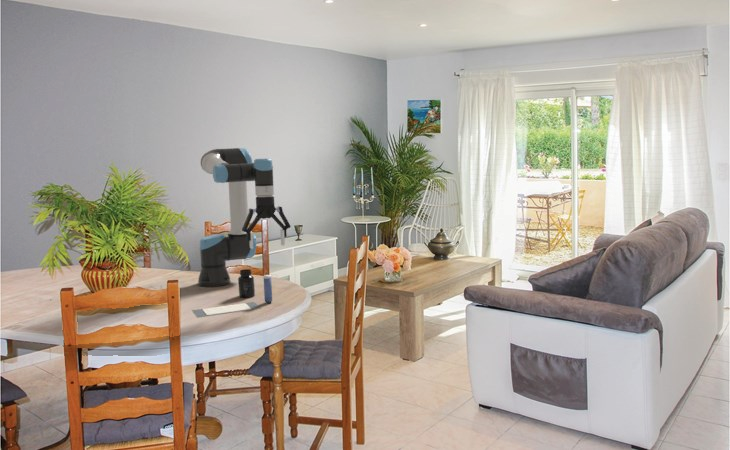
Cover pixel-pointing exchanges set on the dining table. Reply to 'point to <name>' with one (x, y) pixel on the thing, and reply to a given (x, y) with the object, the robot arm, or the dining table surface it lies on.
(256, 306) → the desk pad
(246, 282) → the supplement bottle
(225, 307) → the paper
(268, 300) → the marker
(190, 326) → the dining table surface
